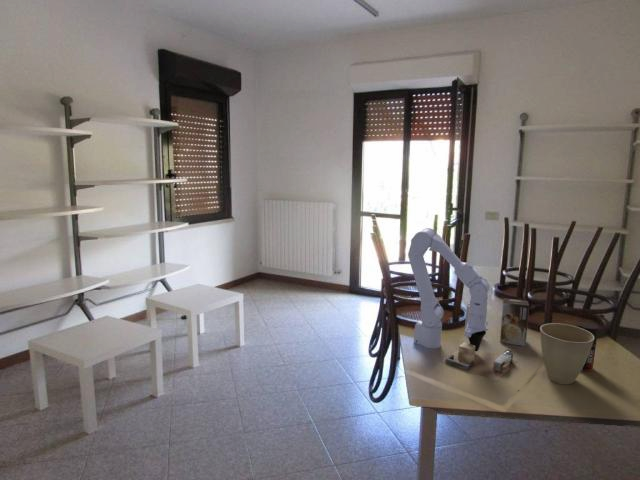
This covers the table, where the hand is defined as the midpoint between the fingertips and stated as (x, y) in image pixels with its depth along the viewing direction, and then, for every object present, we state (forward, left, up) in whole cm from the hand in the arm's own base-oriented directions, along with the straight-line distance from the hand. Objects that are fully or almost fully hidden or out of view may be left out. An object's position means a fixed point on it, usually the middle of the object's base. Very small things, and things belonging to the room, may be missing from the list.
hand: (474, 350), depth 155 cm
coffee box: (+5, +23, -3) cm, 24 cm away
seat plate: (+4, -5, -2) cm, 7 cm away
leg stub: (0, -7, -1) cm, 7 cm away
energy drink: (-9, +18, -3) cm, 20 cm away
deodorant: (+30, +18, -3) cm, 35 cm away
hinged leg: (+11, -2, -1) cm, 11 cm away
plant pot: (+27, +4, -3) cm, 27 cm away
